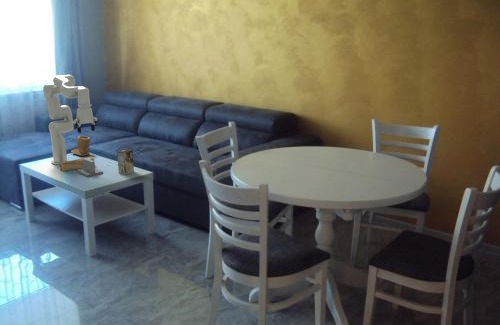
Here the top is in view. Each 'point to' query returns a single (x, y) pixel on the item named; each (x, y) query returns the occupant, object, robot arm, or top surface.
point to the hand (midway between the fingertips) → (86, 131)
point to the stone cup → (82, 146)
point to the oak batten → (73, 164)
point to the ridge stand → (89, 168)
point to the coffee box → (125, 161)
